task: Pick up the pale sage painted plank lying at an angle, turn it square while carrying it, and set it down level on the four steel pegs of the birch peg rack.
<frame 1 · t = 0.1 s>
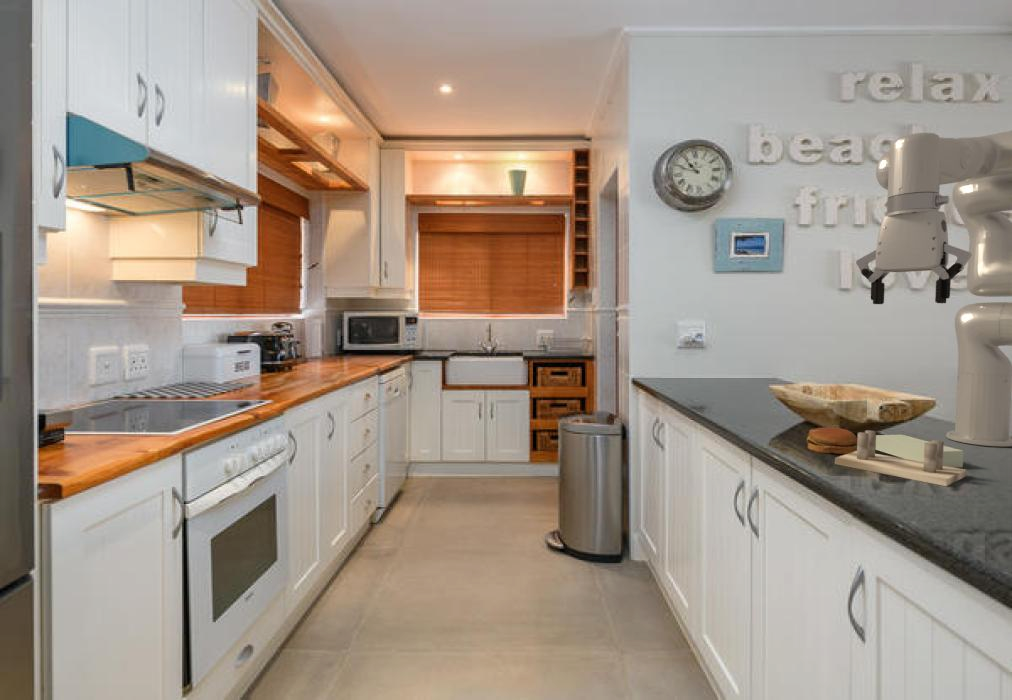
hand: (908, 303, 102), 31 cm above the countertop, tool pointing down, fingers open, 9 cm apart
shelf board: (916, 459, 116), on the countertop
burger: (831, 451, 123), on the countertop
peg rack: (897, 469, 107), on the countertop
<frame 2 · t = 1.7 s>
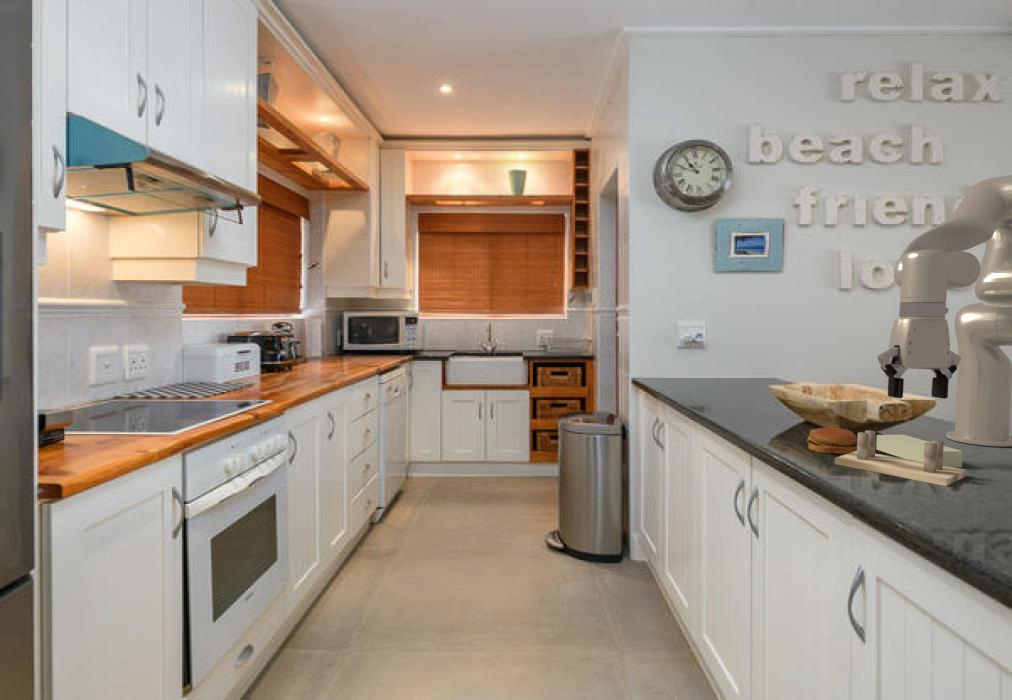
hand: (917, 397, 115), 12 cm above the countertop, tool pointing down, fingers open, 9 cm apart
nothing on the countertop moved.
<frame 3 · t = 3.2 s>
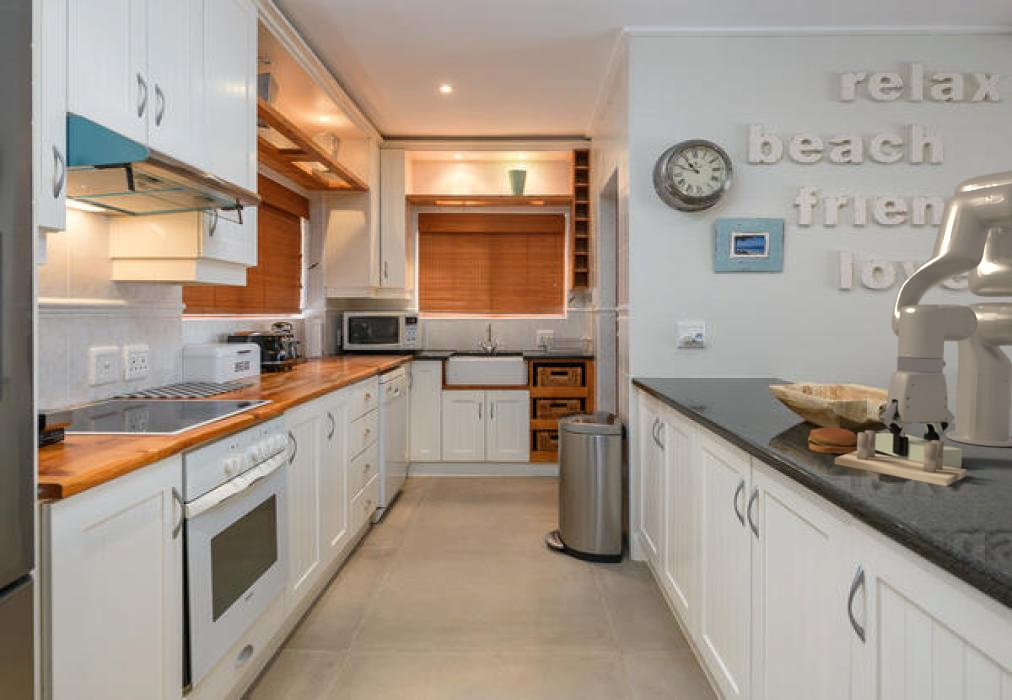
hand: (915, 453, 116), 1 cm above the countertop, tool pointing down, fingers closed on shelf board, 6 cm apart
shelf board: (915, 458, 116), on the countertop, touching gripper
everything else where it was.
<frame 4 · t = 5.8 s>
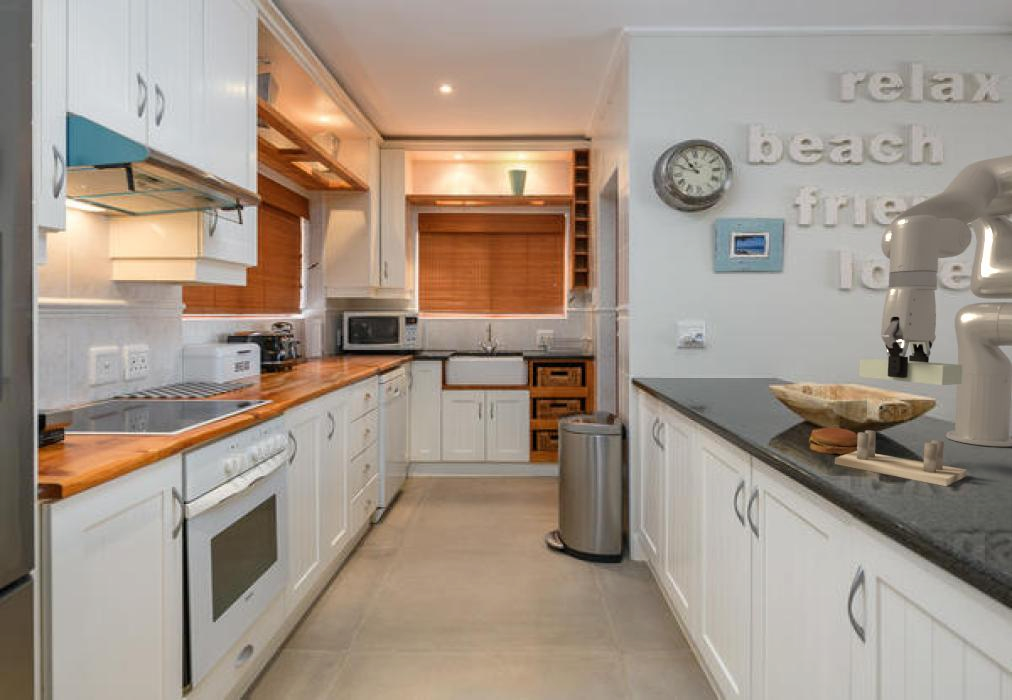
hand: (907, 375, 109), 17 cm above the countertop, tool pointing down, fingers closed on shelf board, 6 cm apart
shelf board: (907, 380, 109), point 17 cm above the countertop, touching gripper
everything else where it was.
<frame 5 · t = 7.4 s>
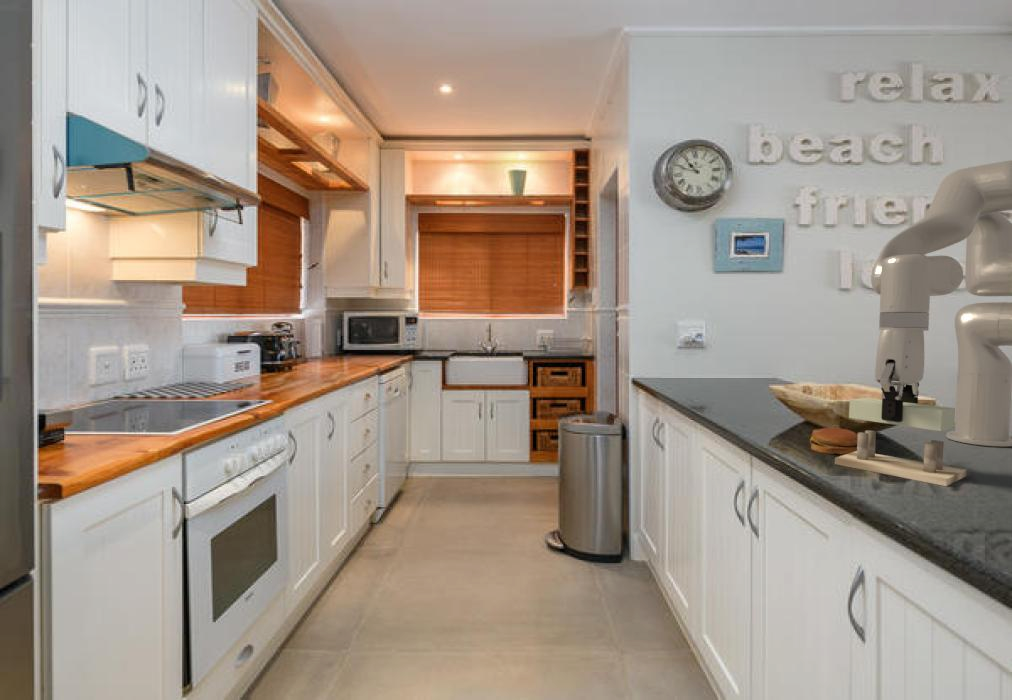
hand: (899, 418, 106), 10 cm above the countertop, tool pointing down, fingers closed on shelf board, 6 cm apart
shelf board: (899, 422, 106), point 9 cm above the countertop, touching gripper
everything else where it was.
when the fingers open (8 cm above the countertop, at t = 8.6 s): shelf board drops 1 cm, resting on peg rack.
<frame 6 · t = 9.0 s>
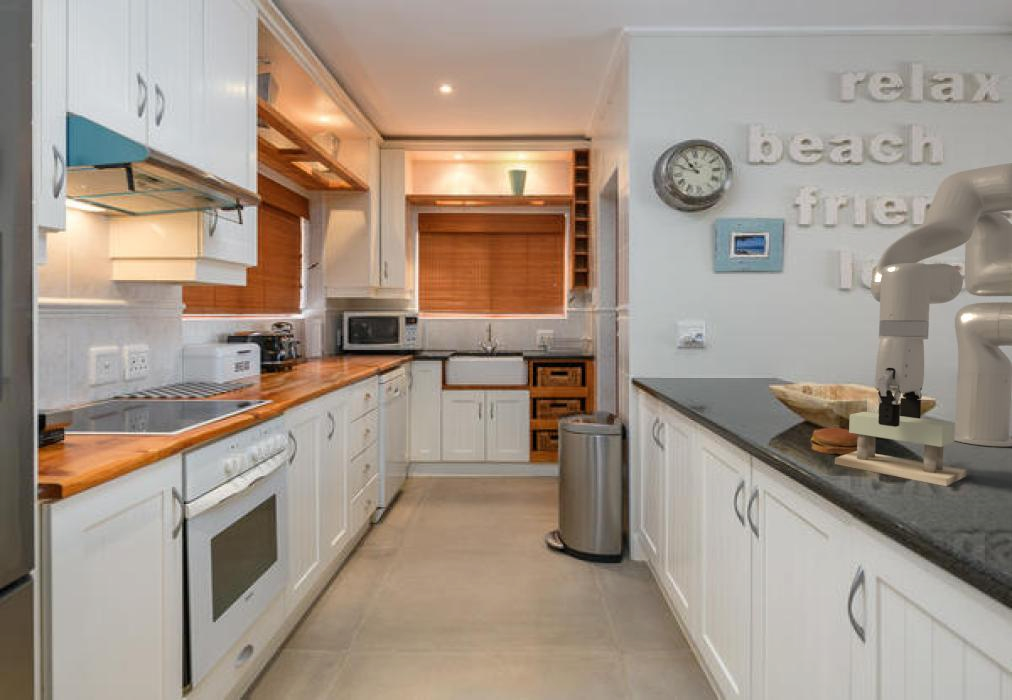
hand: (899, 422, 106), 9 cm above the countertop, tool pointing down, fingers open, 9 cm apart
shelf board: (899, 437, 107), point 6 cm above the countertop, touching peg rack
everything else where it was.
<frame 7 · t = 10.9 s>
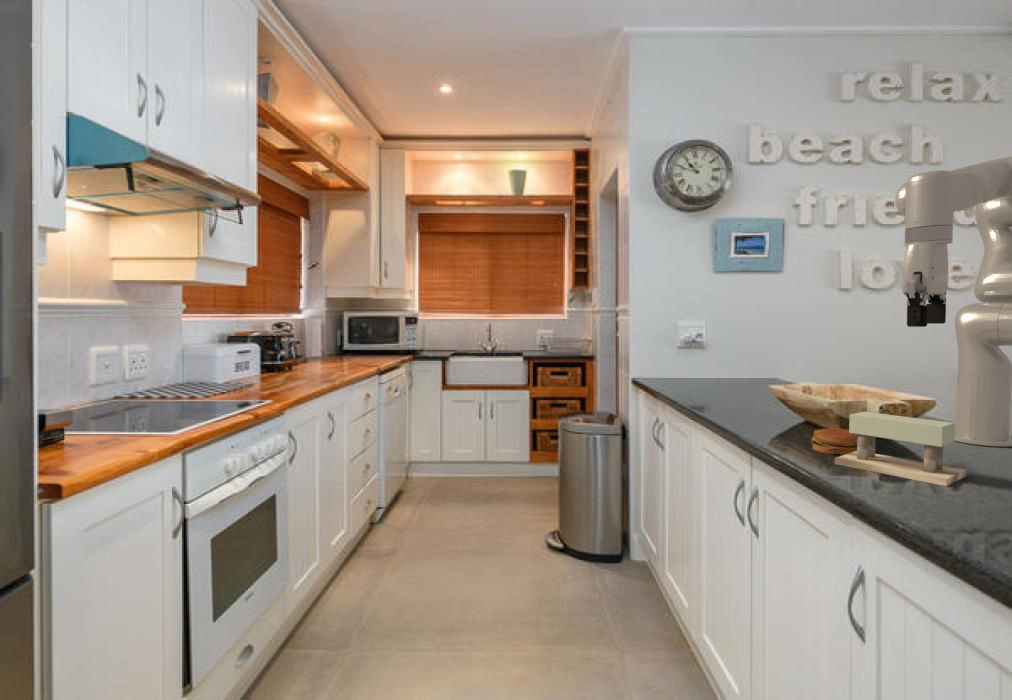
hand: (926, 324, 112), 27 cm above the countertop, tool pointing down, fingers open, 9 cm apart
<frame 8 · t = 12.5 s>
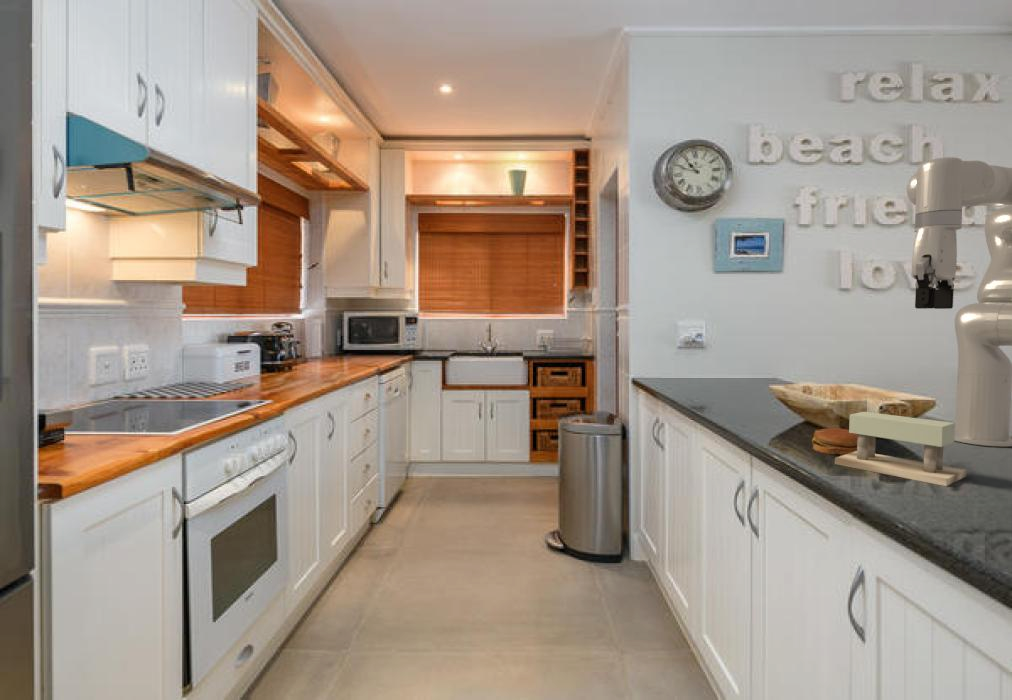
hand: (934, 308, 115), 30 cm above the countertop, tool pointing down, fingers open, 9 cm apart
at the end: shelf board 0.1 cm off-centre on the peg rack, point 6.2 cm above the peg rack's base; shelf board tilted 0°; the gripper is holding nothing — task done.
